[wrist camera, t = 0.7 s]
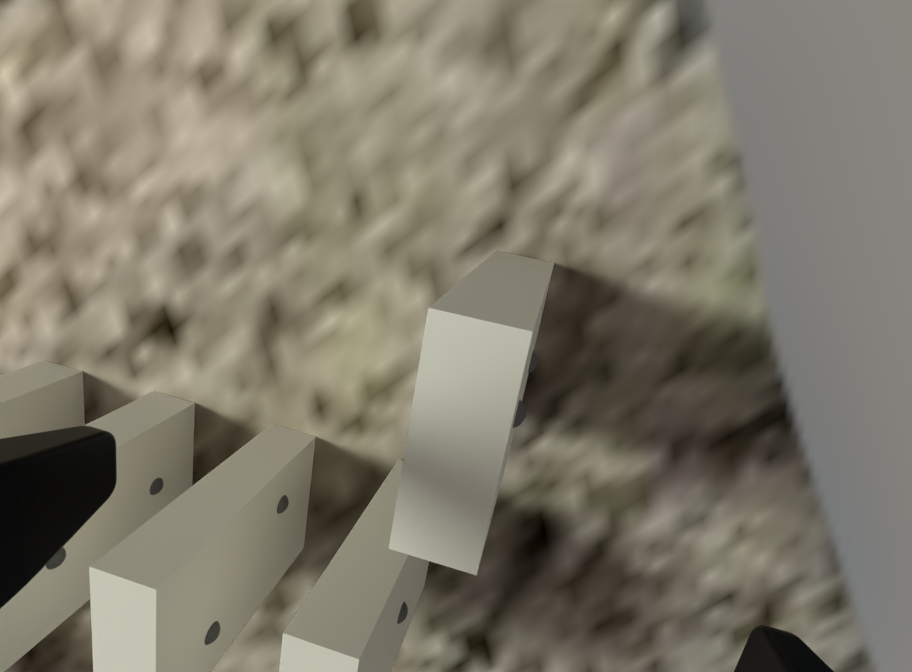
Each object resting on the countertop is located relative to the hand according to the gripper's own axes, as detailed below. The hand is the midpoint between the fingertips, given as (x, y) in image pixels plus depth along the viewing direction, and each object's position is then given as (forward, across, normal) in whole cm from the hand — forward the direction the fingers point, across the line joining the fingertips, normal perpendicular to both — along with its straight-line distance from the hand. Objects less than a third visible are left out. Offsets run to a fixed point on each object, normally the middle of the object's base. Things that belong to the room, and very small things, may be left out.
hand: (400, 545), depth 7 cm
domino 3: (+11, +7, +8) cm, 15 cm away
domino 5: (+11, 0, 0) cm, 11 cm away
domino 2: (+11, +12, +8) cm, 18 cm away
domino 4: (+11, +2, +8) cm, 13 cm away
